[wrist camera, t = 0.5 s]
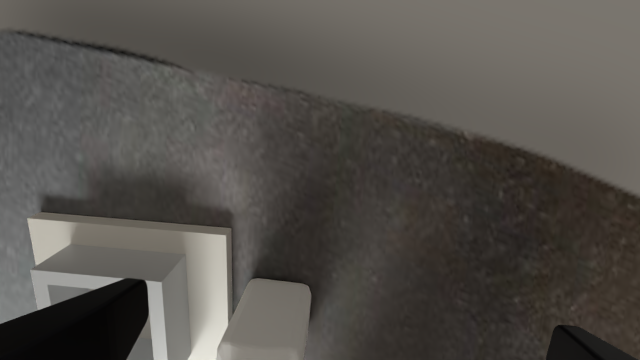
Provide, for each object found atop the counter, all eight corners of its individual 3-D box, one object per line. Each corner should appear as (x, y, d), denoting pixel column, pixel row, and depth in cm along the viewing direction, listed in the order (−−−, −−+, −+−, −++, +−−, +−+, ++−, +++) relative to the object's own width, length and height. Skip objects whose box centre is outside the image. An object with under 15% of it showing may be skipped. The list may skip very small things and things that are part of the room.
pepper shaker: (247, 326, 25) (187, 477, 16) (248, 272, 24) (185, 402, 15) (308, 334, 25) (282, 491, 16) (313, 280, 24) (288, 416, 15)
